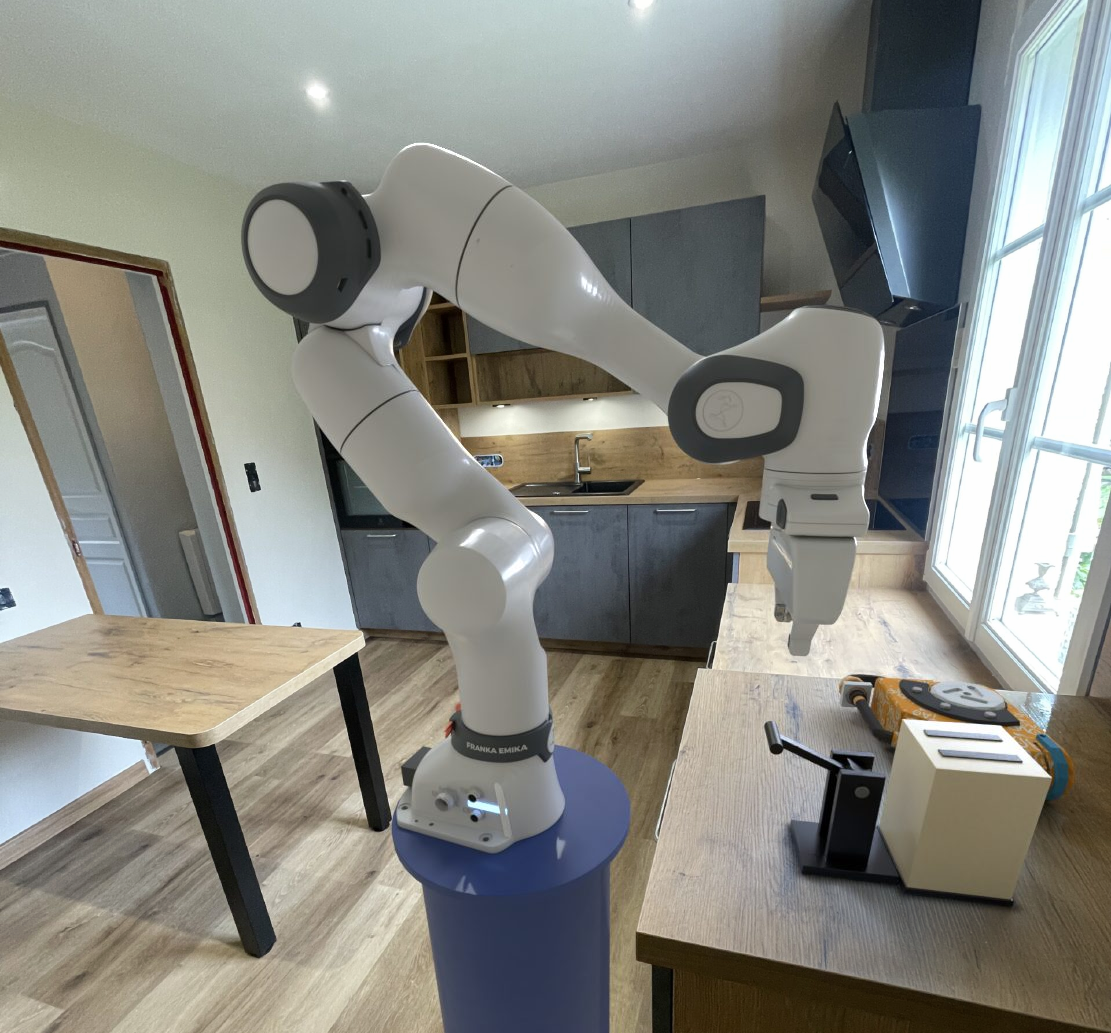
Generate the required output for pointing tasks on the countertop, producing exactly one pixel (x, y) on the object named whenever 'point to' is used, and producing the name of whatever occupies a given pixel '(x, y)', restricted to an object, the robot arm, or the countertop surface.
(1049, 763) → the device
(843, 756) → the lever bracket
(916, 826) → the toaster
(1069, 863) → the countertop surface
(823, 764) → the lever
